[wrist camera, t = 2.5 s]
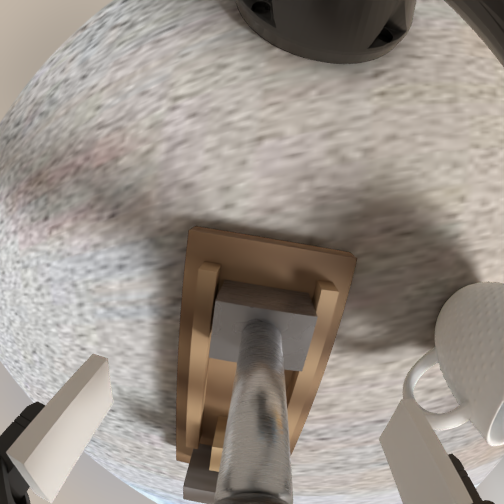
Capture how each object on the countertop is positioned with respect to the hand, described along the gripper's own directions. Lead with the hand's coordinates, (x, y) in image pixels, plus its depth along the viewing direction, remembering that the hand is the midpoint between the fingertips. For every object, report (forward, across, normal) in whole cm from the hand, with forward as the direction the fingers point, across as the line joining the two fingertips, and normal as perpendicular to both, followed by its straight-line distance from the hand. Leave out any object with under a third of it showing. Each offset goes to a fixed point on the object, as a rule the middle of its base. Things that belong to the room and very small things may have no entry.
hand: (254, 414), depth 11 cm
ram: (+10, 0, 0) cm, 10 cm away
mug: (+13, +19, 0) cm, 23 cm away
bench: (+13, 0, -8) cm, 15 cm away
